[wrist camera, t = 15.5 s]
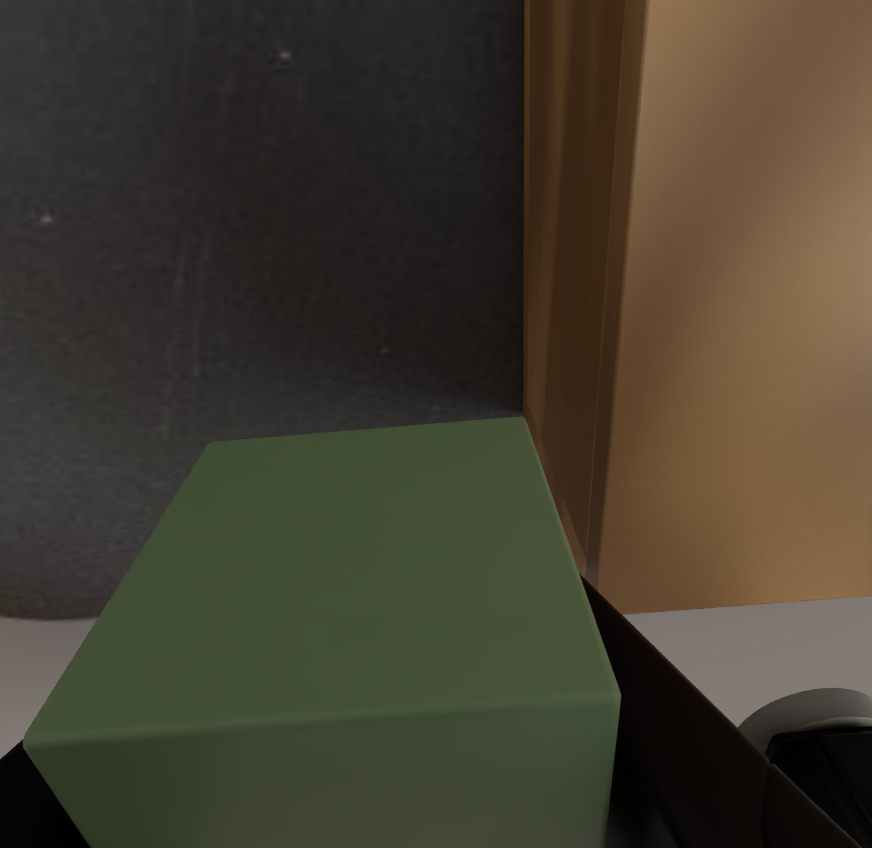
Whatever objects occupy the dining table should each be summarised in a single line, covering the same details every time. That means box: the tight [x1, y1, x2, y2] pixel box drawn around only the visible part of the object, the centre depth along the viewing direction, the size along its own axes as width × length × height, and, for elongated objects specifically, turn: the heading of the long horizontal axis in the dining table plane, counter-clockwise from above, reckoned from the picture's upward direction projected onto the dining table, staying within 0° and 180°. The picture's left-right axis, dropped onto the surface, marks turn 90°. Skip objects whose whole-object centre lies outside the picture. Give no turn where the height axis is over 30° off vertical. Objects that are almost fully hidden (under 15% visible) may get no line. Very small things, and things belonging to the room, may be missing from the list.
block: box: [23, 416, 621, 848], centre depth 7 cm, size 4×4×4 cm
